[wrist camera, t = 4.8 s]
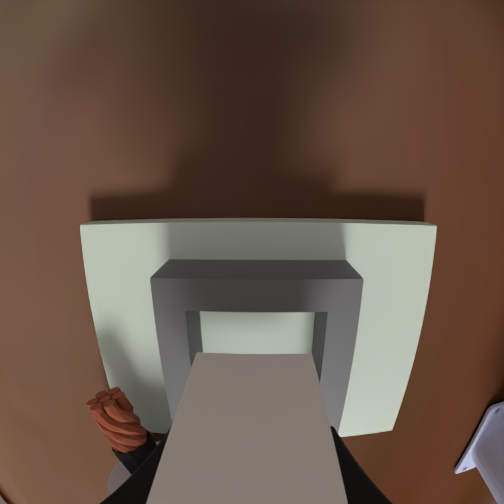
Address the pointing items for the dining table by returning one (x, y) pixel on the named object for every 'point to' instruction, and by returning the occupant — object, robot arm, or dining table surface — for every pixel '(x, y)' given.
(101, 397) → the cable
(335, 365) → the board
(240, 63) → the dining table surface
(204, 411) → the plug
